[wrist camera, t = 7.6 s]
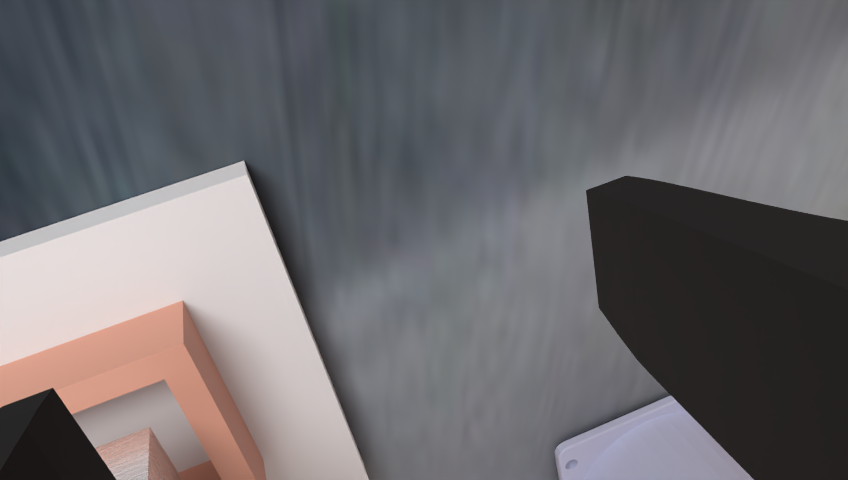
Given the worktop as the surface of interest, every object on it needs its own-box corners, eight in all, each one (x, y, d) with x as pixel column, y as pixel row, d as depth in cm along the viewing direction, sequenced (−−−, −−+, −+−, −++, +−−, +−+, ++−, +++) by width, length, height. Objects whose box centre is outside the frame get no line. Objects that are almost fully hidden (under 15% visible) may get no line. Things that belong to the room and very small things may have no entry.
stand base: (362, 460, 24) (389, 543, 21) (17, 604, 23) (-6, 716, 20) (244, 160, 18) (257, 217, 15) (-246, 323, 16) (-341, 425, 13)
